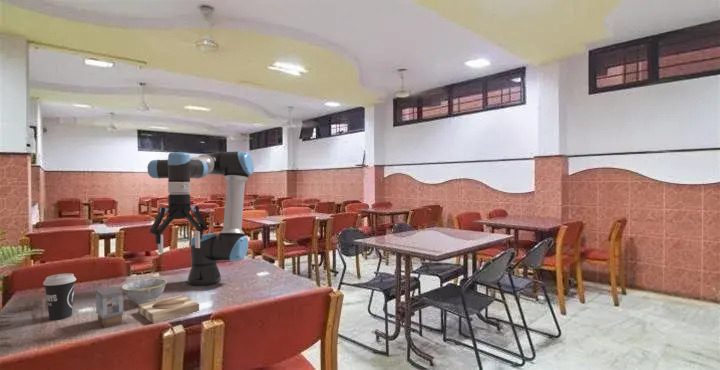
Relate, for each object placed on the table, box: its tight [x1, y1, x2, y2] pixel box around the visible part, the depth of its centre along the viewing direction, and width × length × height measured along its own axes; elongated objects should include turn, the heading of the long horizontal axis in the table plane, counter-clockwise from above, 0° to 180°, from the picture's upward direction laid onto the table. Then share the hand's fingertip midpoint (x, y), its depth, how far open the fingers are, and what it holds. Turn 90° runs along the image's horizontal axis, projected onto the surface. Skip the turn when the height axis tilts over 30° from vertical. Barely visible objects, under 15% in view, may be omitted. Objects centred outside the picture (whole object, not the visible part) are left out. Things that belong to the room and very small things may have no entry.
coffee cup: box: [42, 273, 77, 321], centre depth 139 cm, size 10×10×15 cm
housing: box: [95, 286, 124, 319], centre depth 134 cm, size 9×6×8 cm, turn 46°
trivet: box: [137, 294, 200, 324], centre depth 144 cm, size 16×16×3 cm
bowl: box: [121, 278, 168, 305], centre depth 156 cm, size 16×16×8 cm
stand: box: [97, 314, 123, 328], centre depth 134 cm, size 10×5×3 cm, turn 46°
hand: (179, 250), depth 143 cm, fingers open, 13 cm apart
